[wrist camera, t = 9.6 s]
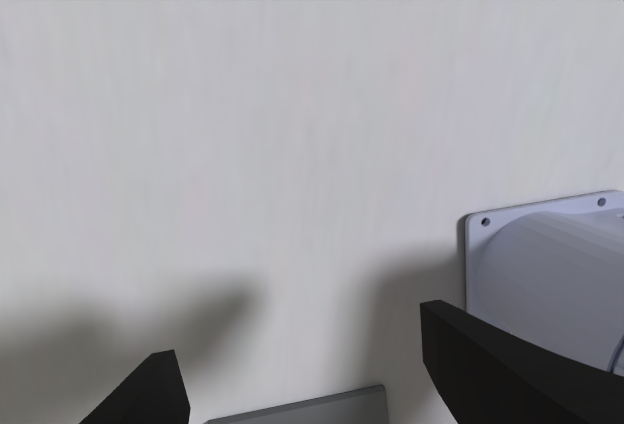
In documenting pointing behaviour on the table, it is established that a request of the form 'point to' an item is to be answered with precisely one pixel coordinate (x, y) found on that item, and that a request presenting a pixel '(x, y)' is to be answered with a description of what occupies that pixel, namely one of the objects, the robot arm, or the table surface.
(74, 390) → the table surface
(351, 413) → the charcoal mat
